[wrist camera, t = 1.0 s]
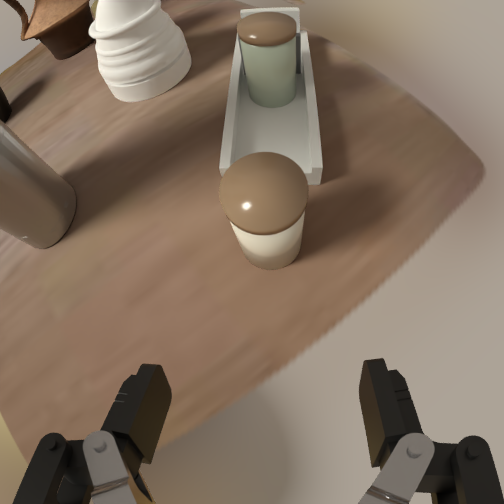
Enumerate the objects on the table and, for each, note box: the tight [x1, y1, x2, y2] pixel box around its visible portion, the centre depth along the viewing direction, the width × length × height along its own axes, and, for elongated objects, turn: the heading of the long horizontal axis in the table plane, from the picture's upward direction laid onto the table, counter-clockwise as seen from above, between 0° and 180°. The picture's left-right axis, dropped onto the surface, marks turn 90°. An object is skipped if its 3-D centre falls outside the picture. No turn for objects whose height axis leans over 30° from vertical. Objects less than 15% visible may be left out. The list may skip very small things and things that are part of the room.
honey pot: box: [89, 0, 191, 102], centre depth 31 cm, size 13×13×18 cm
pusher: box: [238, 33, 301, 75], centre depth 33 cm, size 5×7×6 cm
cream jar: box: [219, 152, 308, 270], centre depth 25 cm, size 6×6×10 cm
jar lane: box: [219, 8, 323, 185], centre depth 32 cm, size 24×10×7 cm, turn 178°
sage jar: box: [237, 12, 297, 108], centre depth 29 cm, size 6×6×10 cm
